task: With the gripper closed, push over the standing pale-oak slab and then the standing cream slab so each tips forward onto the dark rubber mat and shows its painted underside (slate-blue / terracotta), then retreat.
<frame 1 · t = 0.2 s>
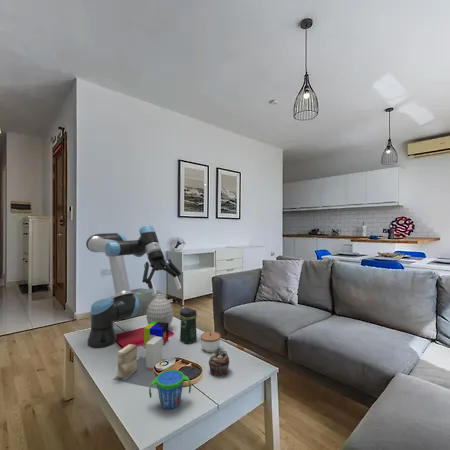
hand: (167, 292, 132), 35 cm above the table, tool tilted 35°, fingers open, 13 cm apart
puzzle toy: (156, 343, 157), on the table
snack cup: (170, 403, 106), on the table
cupcake: (219, 372, 127), on the table
mat: (152, 372, 127), on the table
lidded jar: (210, 350, 149), on the table
oak slab: (127, 375, 124), resting on mat
vase: (160, 330, 174), on the table
cream slab: (154, 365, 133), resting on mat
coffee jar: (188, 340, 160), on the table
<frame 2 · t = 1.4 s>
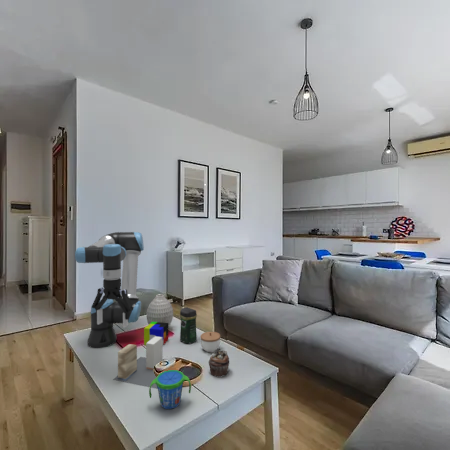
hand: (112, 325, 126), 22 cm above the table, tool pointing down, fingers open, 13 cm apart
nothing on the table moved.
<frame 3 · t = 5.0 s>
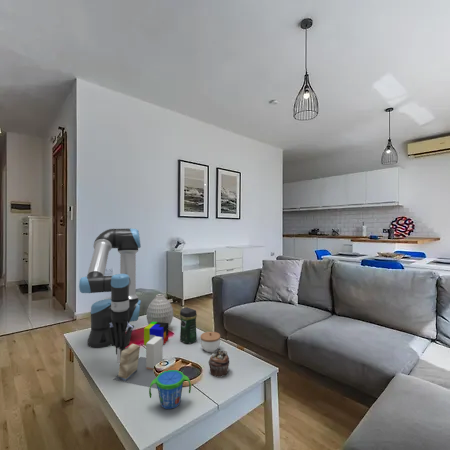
hand: (120, 361, 125), 6 cm above the table, tool pointing down, fingers closed
oak slab: (127, 374, 124), point 1 cm above the table, tilted 8°, touching gripper, mat
everything else where it was.
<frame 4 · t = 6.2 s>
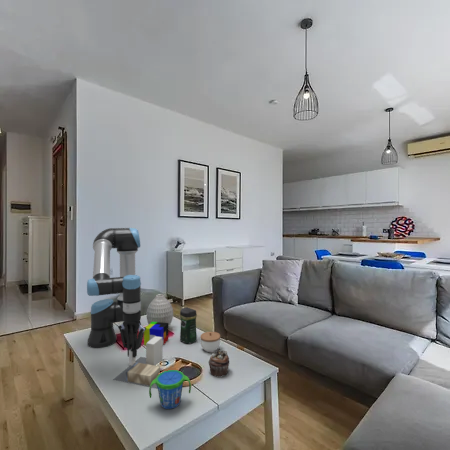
hand: (132, 363, 123), 6 cm above the table, tool pointing down, fingers closed
oak slab: (131, 371, 123), point 2 cm above the table, tilted 90°, touching mat
everything else where it was.
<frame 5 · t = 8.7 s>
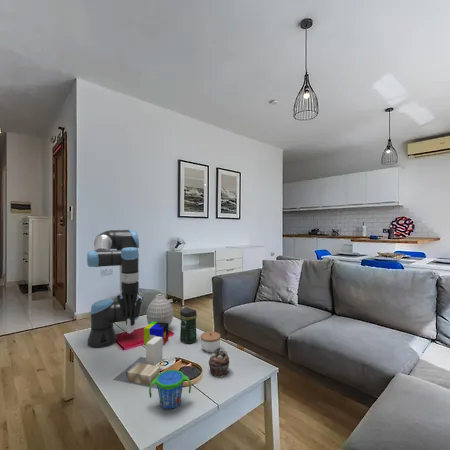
hand: (130, 331, 128), 18 cm above the table, tool pointing down, fingers closed
nothing on the table moved.
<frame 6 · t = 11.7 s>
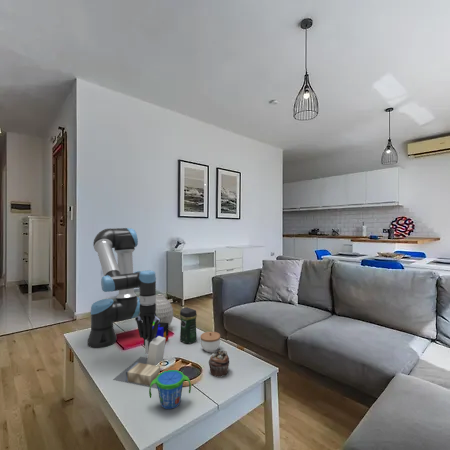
hand: (148, 352, 133), 6 cm above the table, tool pointing down, fingers closed
cream slab: (154, 364, 133), point 1 cm above the table, tilted 9°, touching mat
everything else where it was.
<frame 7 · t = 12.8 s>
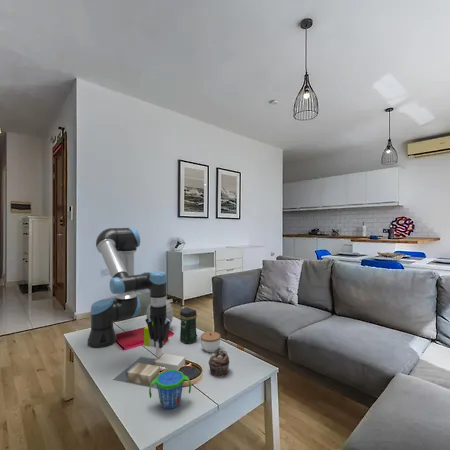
hand: (158, 354, 132), 6 cm above the table, tool pointing down, fingers closed
cream slab: (158, 361, 132), point 2 cm above the table, tilted 90°, touching mat
everything else where it was.
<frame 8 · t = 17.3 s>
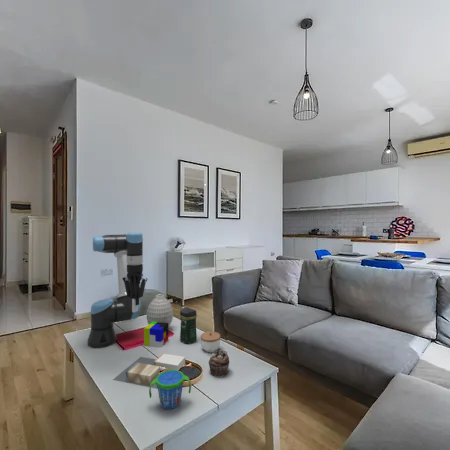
hand: (135, 311, 137), 24 cm above the table, tool pointing down, fingers closed
nothing on the table moved.
at the end: oak slab tilted 90°; cream slab tilted 90°; oak slab inside the target area (2.5 cm from its centre), point 2.4 cm above the table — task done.
